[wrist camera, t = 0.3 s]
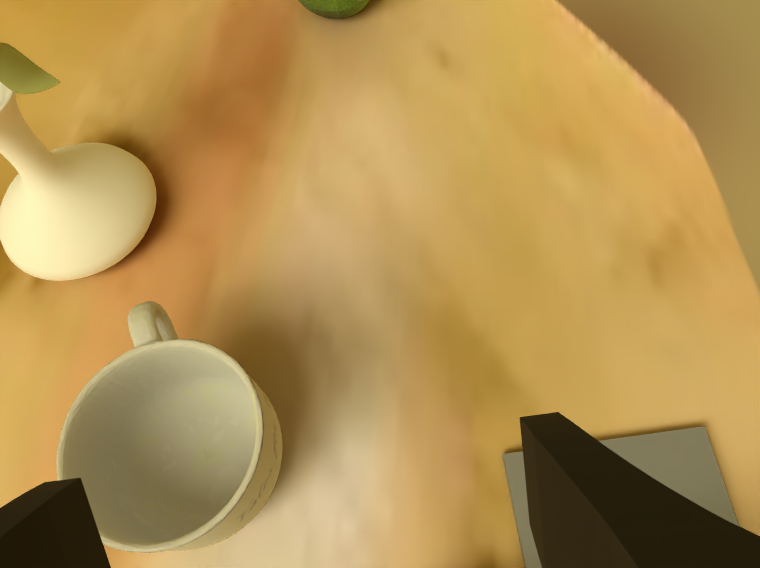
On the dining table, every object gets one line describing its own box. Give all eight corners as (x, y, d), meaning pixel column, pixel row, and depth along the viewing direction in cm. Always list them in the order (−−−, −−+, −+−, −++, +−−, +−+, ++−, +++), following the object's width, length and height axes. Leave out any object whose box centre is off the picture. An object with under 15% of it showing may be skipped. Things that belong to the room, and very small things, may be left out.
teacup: (300, 544, 37) (268, 534, 30) (115, 571, 37) (39, 567, 30) (284, 323, 43) (255, 270, 36) (125, 347, 43) (64, 298, 36)
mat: (788, 680, 33) (793, 682, 32) (554, 712, 33) (556, 713, 32) (701, 428, 38) (704, 425, 38) (502, 455, 38) (503, 453, 38)
